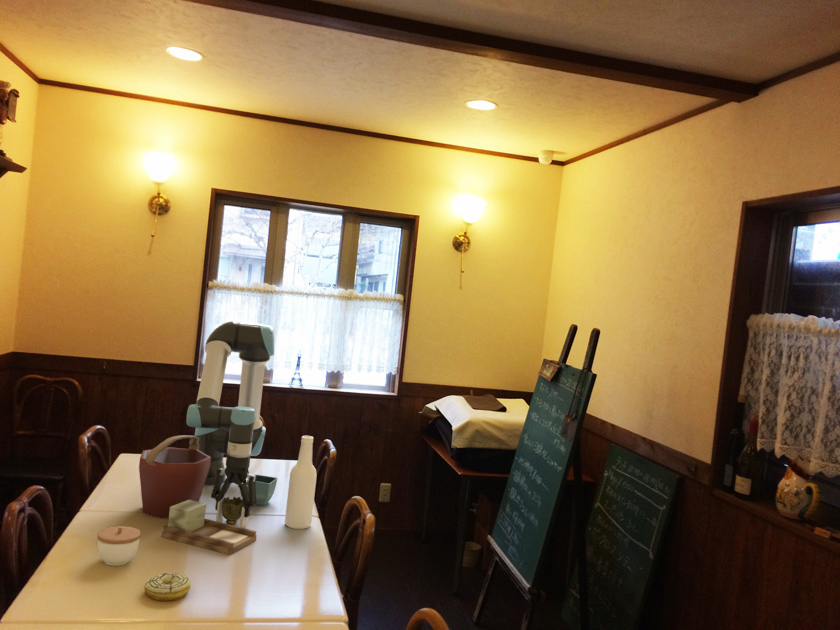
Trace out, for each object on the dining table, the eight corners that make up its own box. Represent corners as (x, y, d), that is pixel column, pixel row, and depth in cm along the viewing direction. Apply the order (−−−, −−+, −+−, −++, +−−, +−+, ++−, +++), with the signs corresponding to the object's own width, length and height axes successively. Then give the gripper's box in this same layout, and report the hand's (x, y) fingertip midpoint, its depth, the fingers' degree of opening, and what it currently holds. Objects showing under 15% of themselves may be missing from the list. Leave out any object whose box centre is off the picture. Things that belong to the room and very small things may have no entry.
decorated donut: (163, 581, 174) (165, 566, 174) (198, 591, 170) (199, 576, 170) (134, 596, 164) (136, 580, 164) (170, 607, 160) (172, 591, 160)
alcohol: (314, 528, 223) (324, 439, 223) (289, 530, 219) (299, 439, 218) (305, 519, 231) (314, 433, 230) (280, 521, 226) (290, 433, 226)
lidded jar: (90, 556, 183) (94, 522, 182) (132, 551, 189) (135, 518, 189) (99, 571, 174) (103, 536, 174) (142, 565, 181) (146, 531, 180)
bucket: (181, 495, 242) (189, 427, 241) (221, 512, 229) (229, 439, 229) (118, 508, 221) (126, 433, 221) (158, 527, 209) (167, 448, 208)
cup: (221, 528, 214) (224, 503, 214) (217, 520, 221) (220, 496, 220) (245, 527, 218) (247, 502, 217) (240, 519, 224) (242, 495, 224)
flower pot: (275, 501, 247) (278, 477, 247) (267, 508, 238) (270, 483, 238) (252, 498, 248) (255, 474, 248) (243, 505, 239) (246, 480, 239)
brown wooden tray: (161, 536, 202) (164, 509, 202) (191, 523, 215) (193, 497, 215) (229, 554, 194) (233, 525, 194) (256, 540, 208) (259, 513, 207)
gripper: (204, 451, 218) (196, 519, 219) (260, 462, 212) (253, 533, 212) (217, 447, 225) (210, 513, 226) (273, 458, 219) (265, 527, 219)
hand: (231, 523), depth 219 cm, fingers open, 8 cm apart
